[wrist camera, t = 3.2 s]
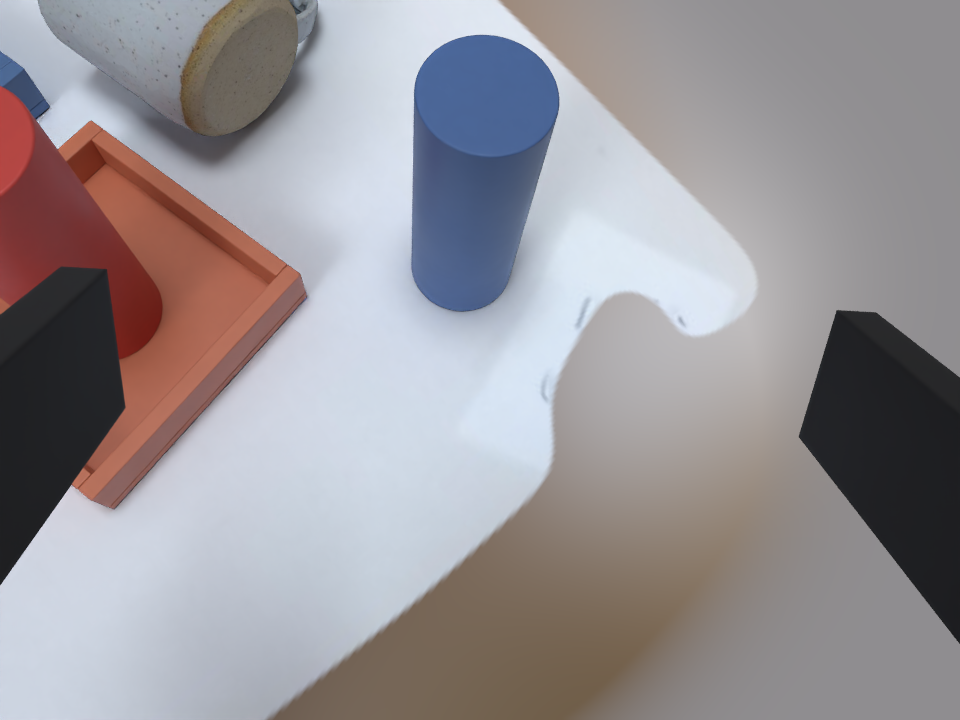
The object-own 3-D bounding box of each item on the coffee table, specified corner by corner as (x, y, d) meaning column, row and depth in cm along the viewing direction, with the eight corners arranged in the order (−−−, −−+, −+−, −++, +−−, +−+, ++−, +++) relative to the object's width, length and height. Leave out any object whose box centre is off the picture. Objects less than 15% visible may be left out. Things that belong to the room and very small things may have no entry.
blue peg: (529, 258, 36) (587, 86, 24) (471, 330, 34) (504, 183, 23) (451, 203, 36) (472, 10, 25) (391, 273, 35) (383, 101, 23)
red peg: (185, 304, 33) (69, 134, 22) (108, 384, 32) (-59, 248, 20) (106, 244, 33) (-47, 48, 22) (27, 320, 32) (-180, 152, 21)
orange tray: (307, 296, 34) (300, 273, 32) (113, 510, 30) (91, 500, 28) (109, 150, 35) (90, 119, 33) (-98, 338, 32) (-135, 317, 30)
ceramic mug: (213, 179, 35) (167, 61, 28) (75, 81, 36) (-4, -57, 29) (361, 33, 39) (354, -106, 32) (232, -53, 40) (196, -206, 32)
